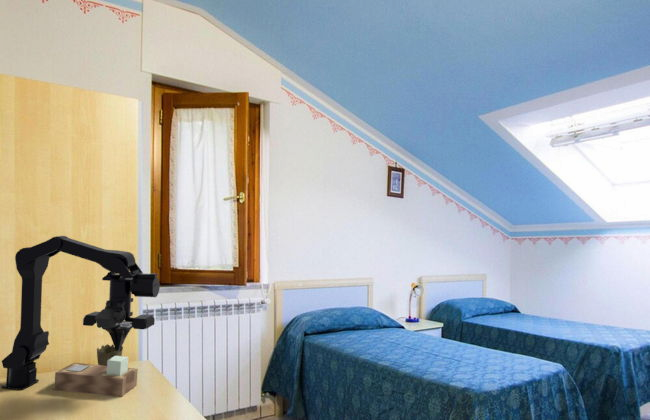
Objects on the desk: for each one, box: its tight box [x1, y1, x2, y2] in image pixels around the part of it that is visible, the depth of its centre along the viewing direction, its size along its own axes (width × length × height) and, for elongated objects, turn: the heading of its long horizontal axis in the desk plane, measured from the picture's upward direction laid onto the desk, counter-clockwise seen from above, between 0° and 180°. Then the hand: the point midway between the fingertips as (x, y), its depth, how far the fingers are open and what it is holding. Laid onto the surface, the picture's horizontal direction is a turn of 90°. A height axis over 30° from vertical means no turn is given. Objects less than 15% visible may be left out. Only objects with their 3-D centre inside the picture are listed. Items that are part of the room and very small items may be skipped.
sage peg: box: [107, 355, 129, 376], centre depth 126 cm, size 4×4×5 cm
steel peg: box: [67, 365, 89, 372], centre depth 127 cm, size 4×4×5 cm
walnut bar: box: [53, 362, 139, 398], centre depth 126 cm, size 20×8×5 cm, turn 85°
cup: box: [96, 344, 124, 366], centre depth 138 cm, size 8×7×8 cm
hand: (118, 350), depth 126 cm, fingers closed
